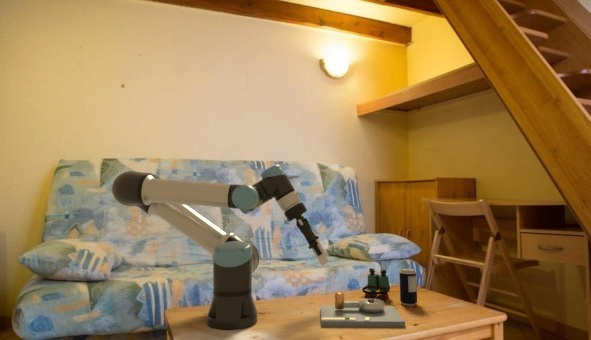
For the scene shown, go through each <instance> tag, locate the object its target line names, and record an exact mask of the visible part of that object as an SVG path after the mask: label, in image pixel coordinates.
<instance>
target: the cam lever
mask: <svg viewBox="0 0 591 340" xmlns="http://www.w3.org/2000/svg"><path fill="white" fill-rule="evenodd" d="M334 306H335V309H344V308H358V309H359V310H360V311H362V312H366V313H380V312H383V311H384V306H385V302H384V301H382V300H379V299H377V298H374V299H372V298H367V299H365V298H361V299H359V300H355V301H351V300H345V293H344V292H343V291H342V292H341V291H337V292H334Z"/></svg>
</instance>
